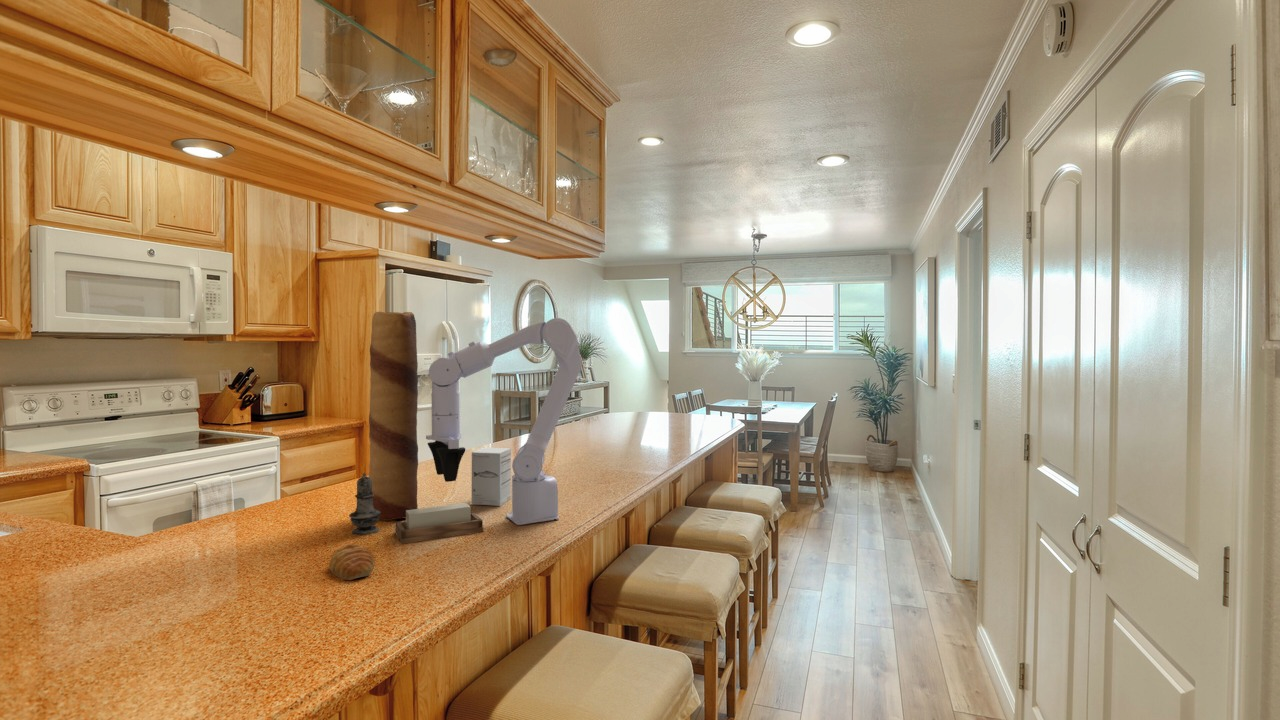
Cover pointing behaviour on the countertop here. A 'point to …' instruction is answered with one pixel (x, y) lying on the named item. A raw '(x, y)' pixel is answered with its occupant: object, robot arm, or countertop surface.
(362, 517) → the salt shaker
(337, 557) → the pastry
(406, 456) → the wafer roll
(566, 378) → the robot arm
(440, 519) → the grey rectangular block
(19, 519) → the countertop surface
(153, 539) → the countertop surface
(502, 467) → the supplement box
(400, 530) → the tray
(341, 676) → the countertop surface
